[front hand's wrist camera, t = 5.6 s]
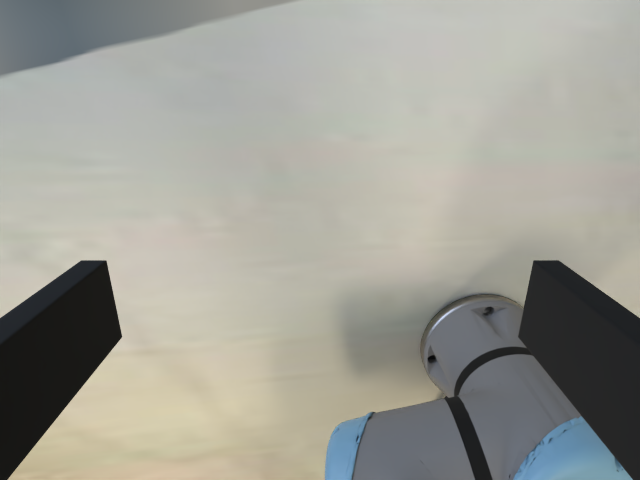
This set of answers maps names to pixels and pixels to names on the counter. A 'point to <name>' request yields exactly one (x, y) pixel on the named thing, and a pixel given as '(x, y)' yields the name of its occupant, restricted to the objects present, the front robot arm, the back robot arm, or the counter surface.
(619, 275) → the counter surface
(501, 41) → the counter surface
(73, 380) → the front robot arm
